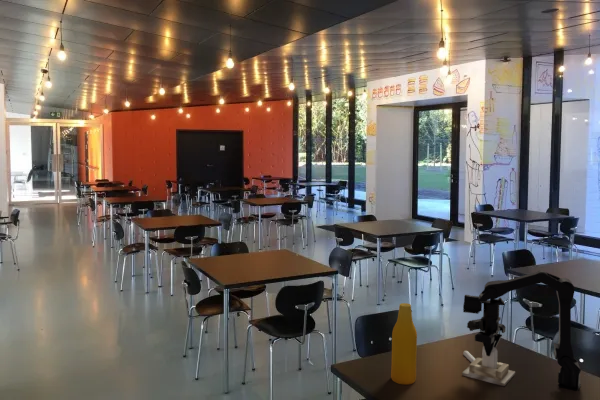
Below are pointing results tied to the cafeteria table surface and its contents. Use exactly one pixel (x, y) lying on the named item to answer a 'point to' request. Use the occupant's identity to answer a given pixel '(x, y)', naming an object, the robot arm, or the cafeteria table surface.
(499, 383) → the collar block
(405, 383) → the beer bottle
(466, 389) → the cafeteria table surface
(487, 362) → the eye dropper bottle
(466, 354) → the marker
